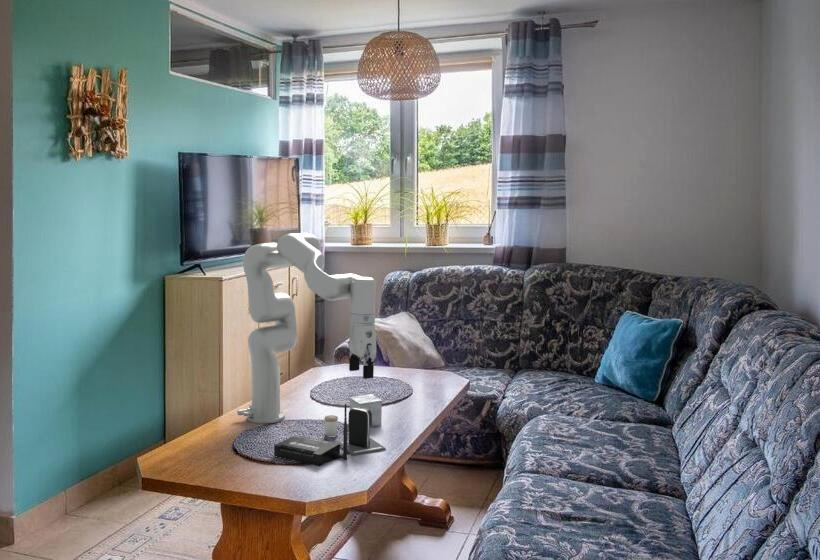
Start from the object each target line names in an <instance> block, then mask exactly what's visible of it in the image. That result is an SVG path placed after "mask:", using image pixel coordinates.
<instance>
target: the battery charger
mask: <svg viewBox="0 0 820 560" xmlns="http://www.w3.org/2000/svg"><path fill="white" fill-rule="evenodd" d="M347 422H348V423H347V427H348V441H349V444H352V445H355V446H360V447H368V446H369V445H370V440H369V437H370V432H371V431H370V430H371V429H370V428H371V427H370V426H372V413H371V411H370V410H369V409H365V408H360V407H355V408H352V409H351V410H350V409H349V411H348V420H347Z"/></svg>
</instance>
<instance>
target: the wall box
mask: <svg viewBox="0 0 820 560" xmlns="http://www.w3.org/2000/svg"><path fill="white" fill-rule="evenodd" d="M348 400H349V411H350V410H351V409H352V408H355V407H360V408H365V409H369V410H370V411H371V413H372V426H370V428H374V427H379V426H381V427H382V412H383V411H382V409H383V408H382V407H383V406H382V405H383V403H384V400H383V399H381V398H379V397H378V396H376V395H374V394H372V393H370V394H361V395H353V396H348Z"/></svg>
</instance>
